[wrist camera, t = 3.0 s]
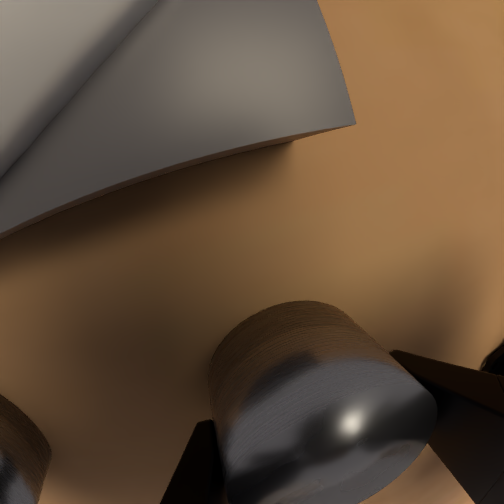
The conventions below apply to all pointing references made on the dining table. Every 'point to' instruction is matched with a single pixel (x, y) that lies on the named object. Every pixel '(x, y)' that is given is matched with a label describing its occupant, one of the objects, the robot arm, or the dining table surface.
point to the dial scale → (152, 92)
